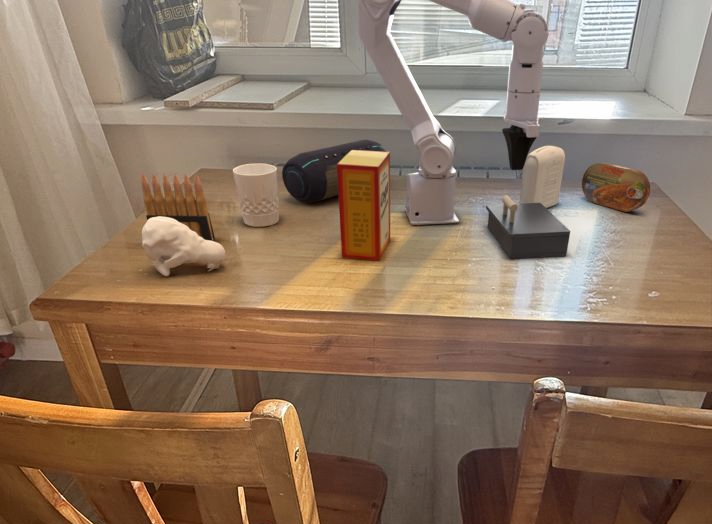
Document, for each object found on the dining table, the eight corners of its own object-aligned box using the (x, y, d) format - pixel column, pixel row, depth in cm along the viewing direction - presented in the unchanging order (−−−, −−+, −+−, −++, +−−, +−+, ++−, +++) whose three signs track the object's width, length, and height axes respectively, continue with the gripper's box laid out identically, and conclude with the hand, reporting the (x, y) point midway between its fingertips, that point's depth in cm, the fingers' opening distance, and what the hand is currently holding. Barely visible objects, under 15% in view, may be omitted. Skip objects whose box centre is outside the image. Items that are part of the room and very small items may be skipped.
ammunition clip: (215, 240, 104) (203, 172, 97) (212, 243, 102) (200, 175, 96) (155, 239, 104) (138, 171, 97) (151, 243, 102) (134, 175, 96)
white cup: (232, 224, 110) (223, 171, 105) (256, 211, 117) (249, 161, 111) (267, 230, 108) (260, 177, 103) (290, 217, 114) (284, 166, 109)
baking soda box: (355, 237, 106) (351, 147, 98) (390, 239, 106) (389, 149, 97) (341, 257, 98) (336, 162, 90) (379, 260, 98) (377, 164, 89)
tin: (578, 198, 128) (584, 159, 123) (586, 195, 130) (593, 157, 125) (638, 216, 118) (648, 175, 114) (647, 213, 120) (656, 172, 116)
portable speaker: (309, 211, 117) (305, 161, 112) (279, 200, 123) (274, 152, 118) (395, 185, 133) (395, 140, 128) (366, 176, 139) (364, 133, 133)
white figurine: (147, 209, 91) (226, 216, 92) (154, 259, 95) (229, 265, 97) (134, 224, 86) (218, 230, 87) (142, 276, 90) (222, 281, 92)
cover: (509, 238, 97) (511, 214, 95) (485, 208, 110) (487, 187, 107) (569, 235, 99) (573, 211, 96) (539, 206, 111) (542, 184, 109)
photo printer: (544, 199, 127) (552, 140, 120) (560, 204, 124) (570, 144, 118) (515, 209, 121) (522, 148, 114) (532, 215, 118) (540, 153, 112)
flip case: (510, 259, 99) (512, 238, 97) (487, 227, 112) (488, 208, 110) (566, 256, 101) (569, 235, 99) (537, 225, 113) (539, 206, 111)
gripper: (560, 97, 96) (550, 178, 103) (531, 84, 108) (524, 158, 116) (519, 98, 95) (512, 180, 102) (495, 84, 107) (490, 159, 115)
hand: (516, 169), depth 109 cm, fingers closed
